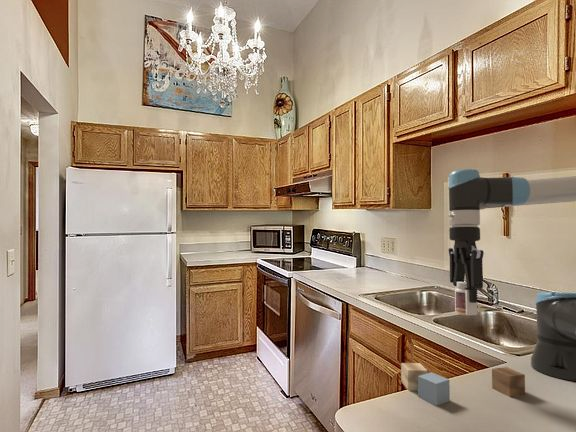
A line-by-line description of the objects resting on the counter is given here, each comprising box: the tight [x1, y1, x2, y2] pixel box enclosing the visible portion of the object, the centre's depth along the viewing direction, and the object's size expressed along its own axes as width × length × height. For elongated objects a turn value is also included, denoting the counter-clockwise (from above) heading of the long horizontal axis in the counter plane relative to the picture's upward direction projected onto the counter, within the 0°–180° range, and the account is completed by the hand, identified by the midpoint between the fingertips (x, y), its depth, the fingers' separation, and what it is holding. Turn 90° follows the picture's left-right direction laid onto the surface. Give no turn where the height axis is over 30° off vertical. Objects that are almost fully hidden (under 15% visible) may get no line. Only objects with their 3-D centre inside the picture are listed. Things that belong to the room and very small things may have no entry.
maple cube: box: [400, 362, 429, 391], centre depth 90 cm, size 5×5×5 cm
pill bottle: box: [454, 281, 467, 316], centre depth 93 cm, size 5×5×8 cm
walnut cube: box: [491, 366, 526, 398], centre depth 88 cm, size 5×5×5 cm
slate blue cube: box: [417, 371, 451, 407], centre depth 83 cm, size 5×5×5 cm
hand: (465, 312), depth 93 cm, fingers closed on pill bottle, 5 cm apart
